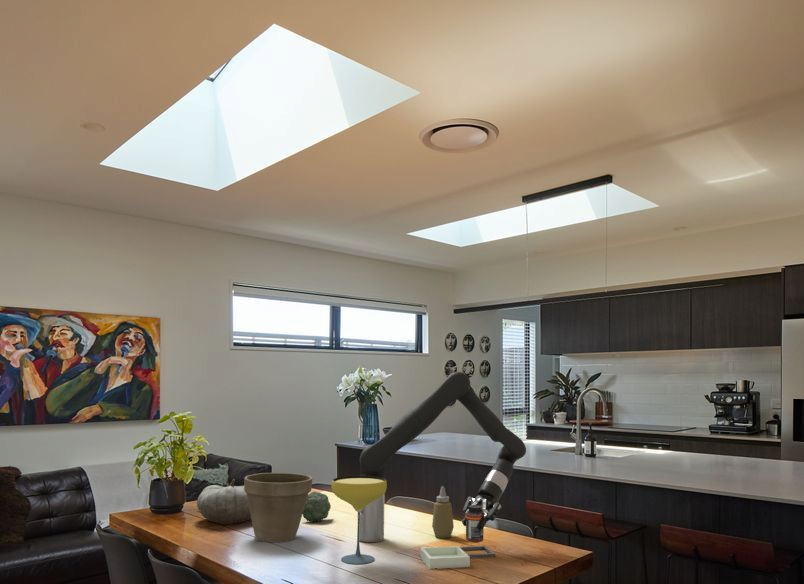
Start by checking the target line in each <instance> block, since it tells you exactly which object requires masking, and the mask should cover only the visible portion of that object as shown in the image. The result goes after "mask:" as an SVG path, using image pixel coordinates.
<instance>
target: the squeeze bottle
mask: <svg viewBox="0 0 804 584" xmlns="http://www.w3.org/2000/svg"><path fill="white" fill-rule="evenodd" d="M431 526H432V529H433V534H434V536H435V538H439V539H449V538H451V537H452V533H453V530H454V517H453V508H452V503H451V502H450V497H449V495H447V493H446V488H445V486H441V487H440V491H439V495H437V496H436V502H434V504H433V514H432V525H431Z"/></svg>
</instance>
